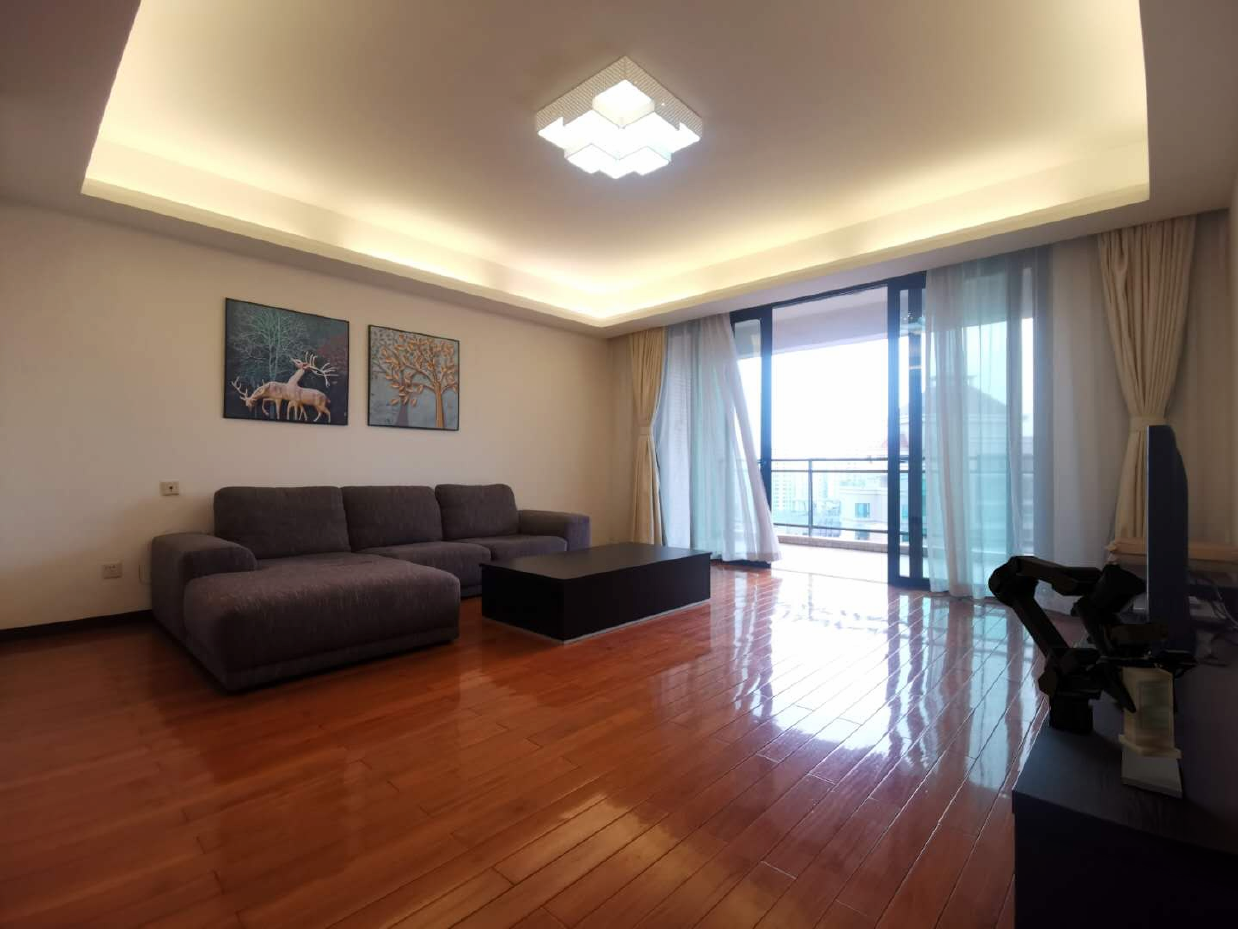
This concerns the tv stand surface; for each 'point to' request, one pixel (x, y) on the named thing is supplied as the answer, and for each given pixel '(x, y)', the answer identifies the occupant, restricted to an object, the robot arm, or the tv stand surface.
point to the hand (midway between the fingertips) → (1154, 713)
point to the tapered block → (1149, 713)
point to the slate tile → (1150, 772)
